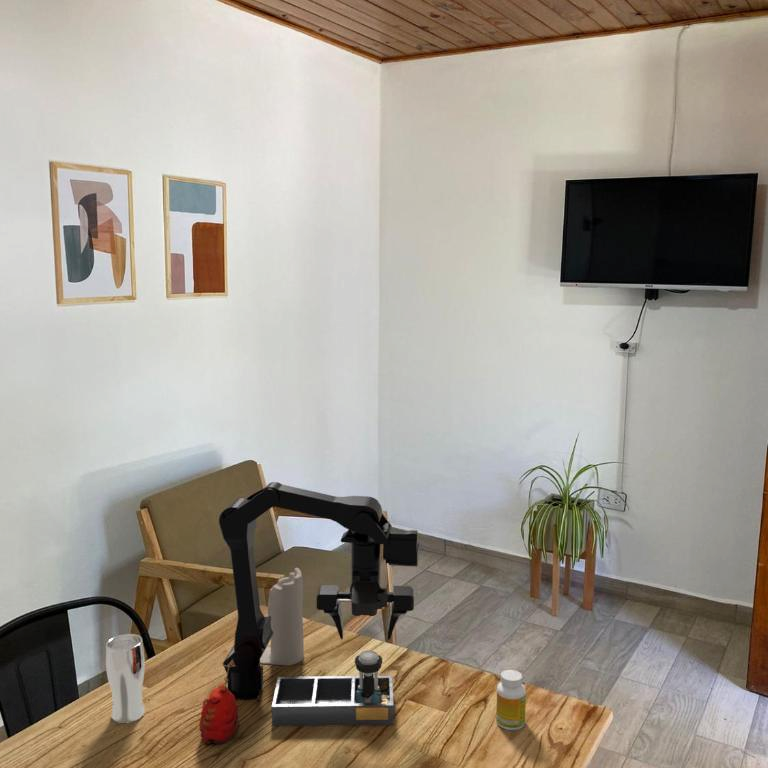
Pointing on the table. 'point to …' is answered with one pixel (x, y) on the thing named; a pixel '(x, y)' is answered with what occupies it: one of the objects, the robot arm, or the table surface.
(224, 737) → the red clay folk toy
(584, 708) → the table surface
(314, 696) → the divided tray
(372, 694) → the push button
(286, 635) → the grey tall wavy piece
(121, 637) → the beer glass
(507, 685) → the supplement bottle
